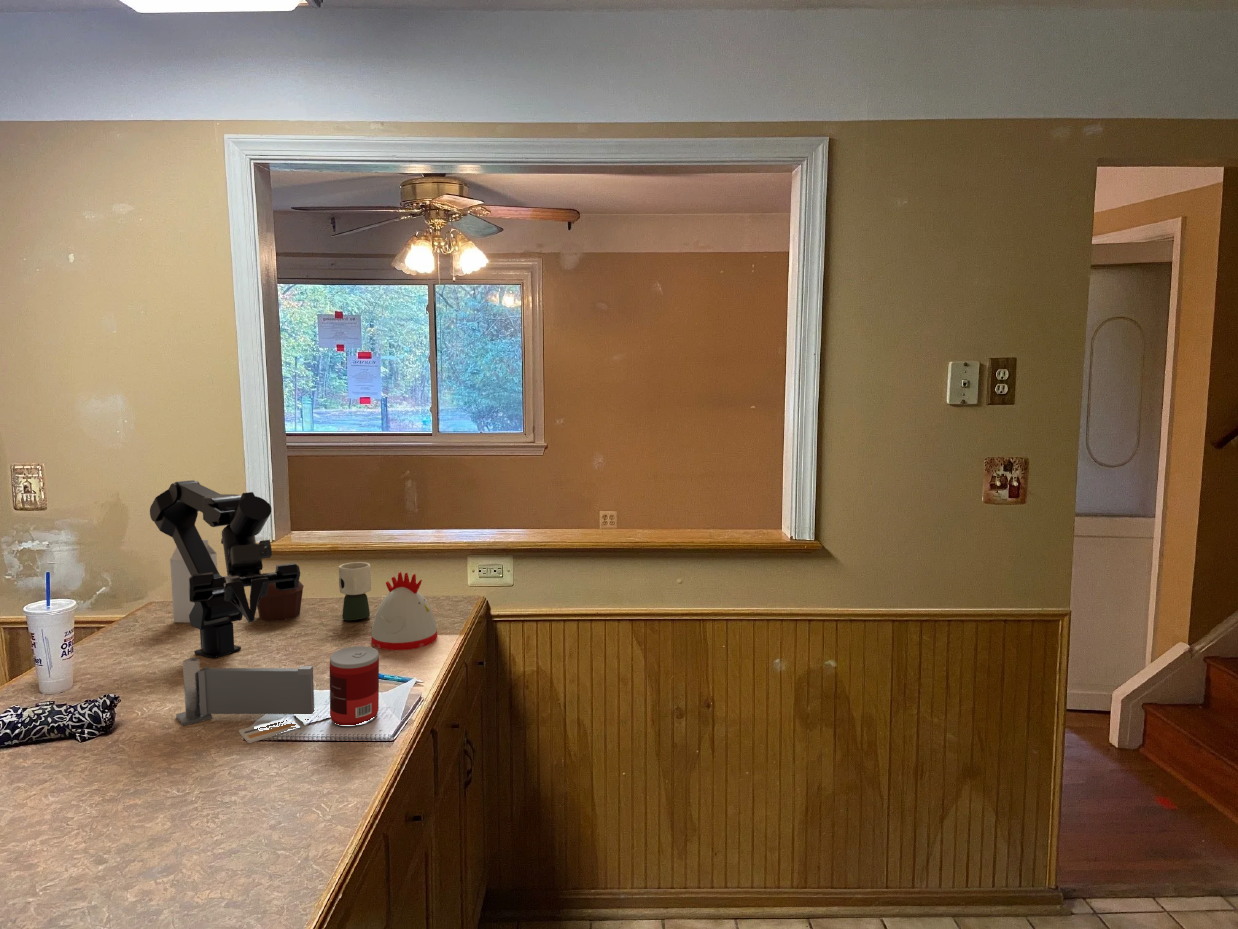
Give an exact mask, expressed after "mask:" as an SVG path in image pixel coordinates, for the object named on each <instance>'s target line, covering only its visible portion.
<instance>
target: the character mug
mask: <svg viewBox="0 0 1238 929" xmlns="http://www.w3.org/2000/svg"><path fill="white" fill-rule="evenodd" d="M371 569H372V567H371V564H370V563H368V562H362V561H356V562H355V561H353V562H347V563H343V564H341V565H338V587H339V588H338V589H339V593H341V594H344V597H343V604H342V614H341V615H342V617H341V618H342V620H344V621H355V622H357V621H358V620H363V619H366V618H370V616H371V615H370V614H371V612H370V605H369V604H370V603H369V599H368V595H367V593H369V592H370V591H371V590H372V574H371V573H372V570H371Z"/></svg>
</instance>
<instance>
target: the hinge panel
mask: <svg viewBox="0 0 1238 929" xmlns="http://www.w3.org/2000/svg"><path fill="white" fill-rule="evenodd" d="M198 676H199V694H200V713H201V715H207V714H211V715H294V714H313V712H314V711H315V710H314V708H315V694H314V693H315V691H314V690H315V689H314V684H315V683H314V665H300V666H299V667H298V668H297V667H296V668H291V667H289V668H288V667H287V668H286V667H285V668H283V667H282V668H281V667H279V668H275V667H274V668H272V667H270V668H269V667H268V668H266V667H263V668H262V667H261V668H260V667H259V668H258V667H257V668H254V667H249V668H247V667H241V668H240V667H238V668H237V667H236V668H235V667H209V666H208V667H202V668H200V671H198Z"/></svg>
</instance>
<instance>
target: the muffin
mask: <svg viewBox="0 0 1238 929" xmlns="http://www.w3.org/2000/svg"><path fill="white" fill-rule="evenodd" d="M304 586H305V585H303V583H302V582H301V581H300V580H299V583H298V587H297V588H295V589H292V590H284V591H279V590H278V589H276V588H275V583H269V584H268V590H267V595H266V596H264V597H261V598H260V601H259V603H258V605H257V611H258V617H259V618H260V619H261V620H262V621H266V622H278V621H286V620H291V619H295V618H296V617H297V616H299V615H300V614H301V608H302V607H301V605H302V600H303V590H304Z"/></svg>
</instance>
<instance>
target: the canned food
mask: <svg viewBox="0 0 1238 929" xmlns="http://www.w3.org/2000/svg"><path fill="white" fill-rule="evenodd" d="M379 675H380V656H379V651H378V649H376V648H374V647H372V646H366V645H355V646H354V645H353V646H348V647H344V648H339V649H337V650H336V651H333V653H332V654H331V655H330V657H329V703H330V716H331V718H330V719H331V721H332V723H333V722H334V723H333V724H335V723H336V724H339V725H356V724H359V723H362V722H364V721H368V720H370V719H371V718H373V717H375V716H376V715H378V713H379V710H380V709H379V707H380V706H379V705H380V704H379V699H380V696H379V694H380V692H379V691H380V685H379V683H380V682H379V680H380V678H379V677H380V676H379ZM376 717H377V716H376ZM376 717H375V718H376ZM336 724H335V725H336ZM339 725H338V726H339Z"/></svg>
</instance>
